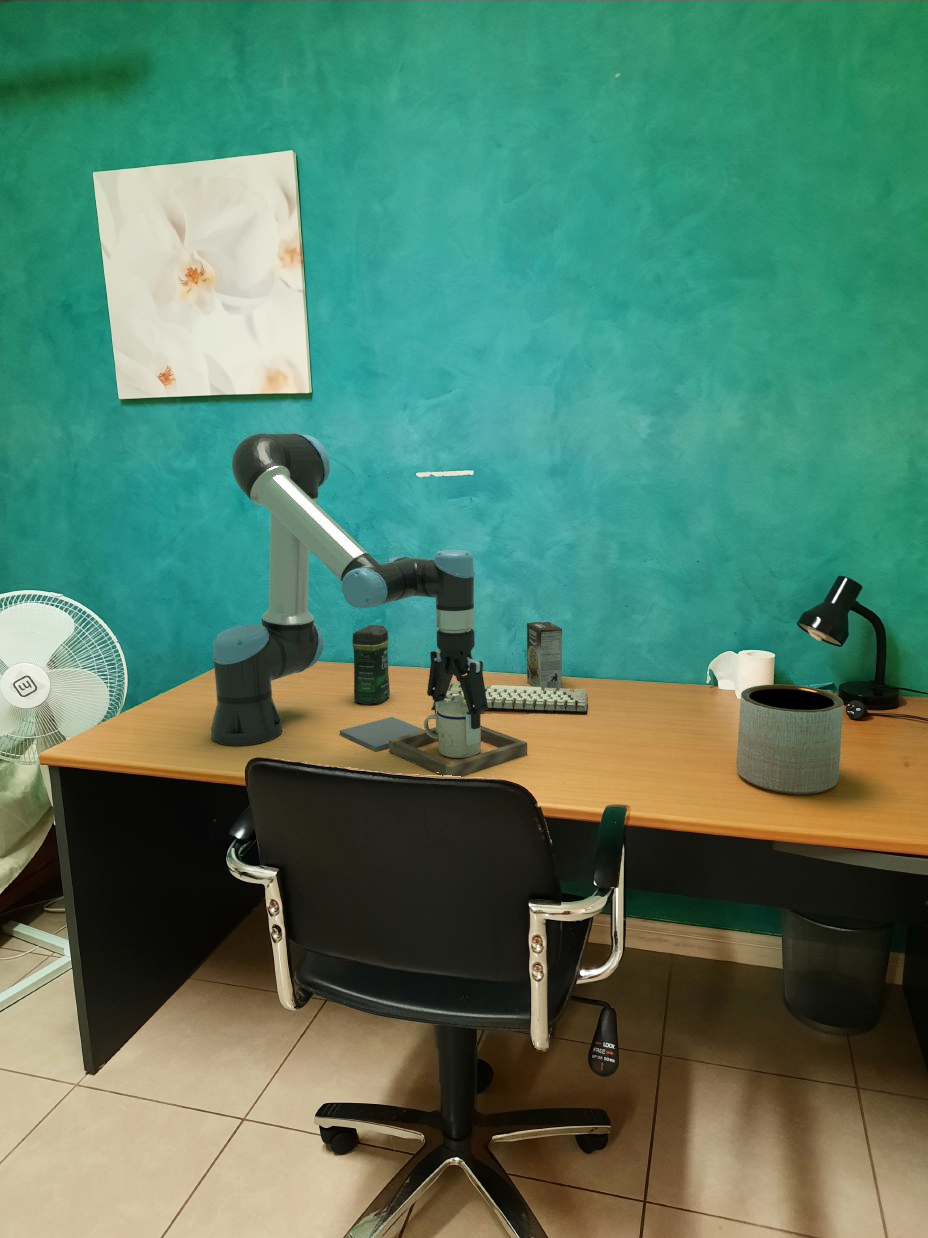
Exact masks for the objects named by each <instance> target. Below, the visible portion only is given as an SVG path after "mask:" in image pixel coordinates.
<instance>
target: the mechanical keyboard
mask: <svg viewBox="0 0 928 1238" xmlns="http://www.w3.org/2000/svg"><path fill="white" fill-rule="evenodd" d="M453 682H454V681H453ZM453 682H452V681H451V682H450V685H449V688H448V691H447V694H446V695H447V697H448V698H445V699H443V700H448V702H450V701H452V700H454V697H455V696H457V695H462V696H463V697H464V694H463V691H462V688H461V685H460V682H459V681H455V682H454V683H453ZM484 685H485V692H486V698H487V704H488V710H486V711H483V712H482V713H481V715H493V714H495V715H496V714H497V715H518V716H519V715H520V716H521V715H532V714H533V715H539V714H540V715H542V714H543V715H565V716H567V715H571V716H572V715H573V716H588V713H589V712H588V711H589V704H588V693H587V690H586V689H585V688H583V689H580V688H574V689H573V691H572V689H571V688H562V687H561V688H560V689H556V688H544V691H542V688H541V687H533V686H524V685H523V686H522V685H521V686H520V685H502V684H501V685H500V684H499V685H495V684H492V685H490V686H489V685H488V684H484ZM489 687H490V688H489ZM464 700H465V698H464ZM432 701H433V702H432V707H431V709H430V710H431V711H434V712H435V703H434V700H432Z"/></svg>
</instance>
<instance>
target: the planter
mask: <svg viewBox="0 0 928 1238" xmlns="http://www.w3.org/2000/svg"><path fill="white" fill-rule="evenodd" d="M740 693H741V694H740V702H739V703H740V705H739V719H738V721H739V722H738V734H737V747H736V748H737V749H736V763H735V764H736V765H735V766H736V767H735V768H736V772H737V774H738V775H739V776H740V777H741V778H742V779H743V780H745V781H746V782H748V783H750V784H751V785H753V786H755V787H758V788H761V789H764V790H766V791H770V792H773V793H781V794H788V795H813V794H818V793H819V794H820V793H823V792H825V791H829V790H830V789H832V788H833V787H835V786H836V785H837V783H838V782H839V781H838V780H839V775H840V765H841V764H840V761H841V747H842V746H841V745H842V730H843V716H844V701H843V699H842V698H841V697H839V696H838V695H836V694H834V693H831V692H829V691H825V690H823V689H818V688H814V687H809V686H804V685H796V684H795V685H793V684H760V685H755V686H750V687H747V688H746V689H745V688H744V689H743V690H742V691H741V692H740Z"/></svg>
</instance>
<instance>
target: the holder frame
mask: <svg viewBox="0 0 928 1238" xmlns="http://www.w3.org/2000/svg"><path fill="white" fill-rule="evenodd" d="M429 729H430V731H431V732H432V733H434V734H437V735H438V733H437V732H436V726H434V727H432V728H429ZM481 741H482V742H485V743H487V744H490V745H492V746H495V747H498V748H495V749H492V750H489V751H486V752H485V751H484V752H482V753H478V754H476V755H474V756H471V757H466V758H462V759H461V760H458V761H454V762H449V761H447V760H446V759H443V758H440V757H438V756H435V755H434V754H432V753H429V752H426V751H425V750H423V749H420V748H419V747H421V746H425V745H429V744H432V743H436V742H439V741H438V739H434V738H432V737H430V736H429V735H428V734H427V733H426V731H425V729H424V731H420V732H417V733H413V734H410V735H406V736H402V737H399V738H395V739H392V740H389V748H388V751H389V753H391V754H394V755H395V756H398V757H399V758H401V759H404V760H406V761H408V760H409V762H410V761H411V762H410V763H413V762H414V763H413V764H415V763H416V764H415V765H417V764H418V765H417V766H419V765H420V766H419V767H421V766H422V768H423V767H424V769H426V770H428V771H430V770H431V771H430V772H432V771H433V773H434V772H439V773H436V774H437V775H439V776H441V775H452V776H461V777H463V776H467V775H469V774H468V773H470V774H472V772H473V773H475V772H478V771H482V770H484V769H485V770H486V769H487V768H491V767H493V766H496V765H499V764H503V763H505V762H509V761H511V760H515V759H517V758H520V757H523V756H526V755H528V742H527V741H525V740H521V739H519V738H516V737H513V736H510V735H508V734H505V733H502V732H499V731H497V730H495V729H490V728H489V727H486V726H484V725H481Z"/></svg>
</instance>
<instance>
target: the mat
mask: <svg viewBox="0 0 928 1238" xmlns="http://www.w3.org/2000/svg"><path fill="white" fill-rule="evenodd" d="M424 730H425V729H424V728H421V727H418V726H416V725H413V724H412V723H409V722H406V721H404V720H401V719H398V718H396V717H394V716H390V717H386V718H383V719H378V720H375V721H372V722H366V723H362V724H359V725H355V726H352V727H348V728H344V729H340V730H339V735H340V736H342V737H344V738H345V739H348V740H350V741H353V742H355V743H356V744H359V745H361V746H363V747H365V748H368V749H369V750H371V751H374V752H379V751H382V750H386V749H389V740H392V739H395V738H399V737H402V736H406V735H410V734H413V733H417V732H420V731H424Z"/></svg>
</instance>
